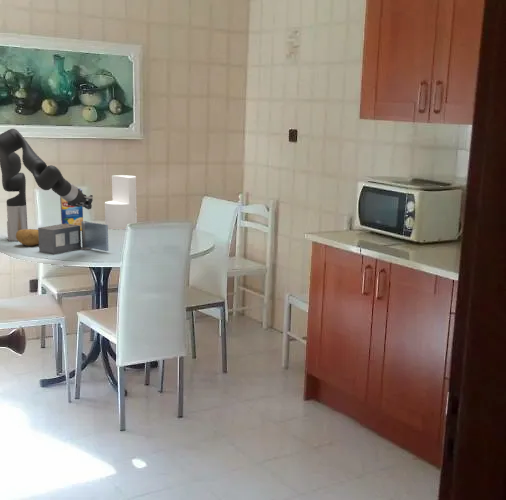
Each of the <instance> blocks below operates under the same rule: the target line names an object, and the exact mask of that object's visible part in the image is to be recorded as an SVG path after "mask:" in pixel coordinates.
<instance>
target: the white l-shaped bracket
mask: <svg viewBox="0 0 506 500" xmlns="http://www.w3.org/2000/svg"><path fill="white" fill-rule="evenodd" d="M111 197H112V199H111V200H108V201H105V202H104V219H105V220H104V224H106V225H108V230H113V229H122V230H123V229H124V230H125V228H126V226H127V224H128V223H137V224H138V217H137V216H138V215H137V213H138V212H137V211H138V209H137V208H138V206H137V204H138V203H137V176H136V175H126V174H118V175H116V174H112V175H111ZM122 230H121V231H122Z"/></svg>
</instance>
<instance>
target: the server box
mask: <svg viewBox="0 0 506 500" xmlns="http://www.w3.org/2000/svg"><path fill="white" fill-rule="evenodd" d="M37 229H38V235H39V244H38V247H39V249H38V251H39V252H41V253H45V254H51V255H56V254H61V253H62V254H63V253H67V252H72V251H77V250H82V251H88V250H93V249H92V248H83V247H82V231H80V226H79V225H73V224H67V223H65V224H61V223H60V224H54V225H48V226H40V227H38V228H37Z"/></svg>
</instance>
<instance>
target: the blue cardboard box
mask: <svg viewBox="0 0 506 500" xmlns="http://www.w3.org/2000/svg"><path fill="white" fill-rule="evenodd" d="M79 189H80V190H81V191H82V192H83V189H82V188H79ZM59 198H60V199H59V200H60V221H61V223H60V224H65V223H67V224H73V225H79V226H80V231H81V232H82V227H81V221H84V211H83V210H84V207H82V206H80V207H75V206H70V205H67V204H68V202H67V201H66V200H64V199H63V198H61V197H60V196H59ZM76 205H77V204H76Z"/></svg>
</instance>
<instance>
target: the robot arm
mask: <svg viewBox="0 0 506 500" xmlns="http://www.w3.org/2000/svg"><path fill="white" fill-rule="evenodd" d="M19 150H22V159H21V156H20V155H19V154H18V153H17V151H19ZM22 164H23V165H24V167H25V169H27V170H28V171H29V173H30V174H32V176H33V178H34V180H35V182H36V184H37V186H38V187H39V189H41V190H43V191H49V190H52V191H53V193H55V194H57V195H58V196H59V198H60V197H61V198H63V199H64V200H66V201H67V202H68V204H67V205H70V206H75V207H80V206H82V207H83V208H85V209H87V210H91V209H92V208H93V207H92V206H93V205H92V203H93V200H94V199H93V198H94V197H93V195H91V194H90V195H89V196H88V195H87V194H84V193H83V190H82V189H81V188H78V186H76V185H74V184H73V183H71V182H70V181H68V180H67V179H65V177H64V176H63V174H62V173H61V171H60V170H59V168H58V167H57V166H55V165H47V163H46V162H45V161H44V160H43V159H42V158H41V157H39V156H38V154H37V153H36V152H35V151H34V150H33V149H32V147H31V144H29V143H28V141H27V140H26V139H25V138H24V137H23V135H22V133H20V131H19V130H17V129H16V128H10V129H7V130H5V131H4V132H2V133H0V170H1V184H2V188H3V190H4V191H6V192H9V193H10V192H13V193H15V192H18V194H16V195H15V196H13V197H11V198H8V199H6V213H7V215H6V216H7V217H6V218H7V221H6V229H7V241H12V242H19V241H18V240H17V238H16V233H17V231H19V230H23V229H29V226H28V211H27V195H26V193H27V191H26V183H27V179H26V175H25V173H24V172H20V171H21V169H22ZM80 189H81V190H82V191H81V190H80ZM76 204H77V205H76Z"/></svg>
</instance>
